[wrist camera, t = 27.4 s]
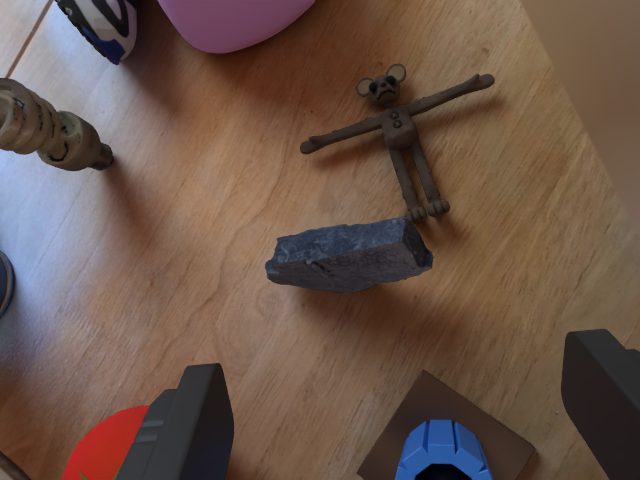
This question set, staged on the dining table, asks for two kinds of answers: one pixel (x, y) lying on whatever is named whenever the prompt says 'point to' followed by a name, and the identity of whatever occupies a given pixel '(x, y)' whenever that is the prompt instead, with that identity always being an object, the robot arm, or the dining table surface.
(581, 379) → the robot arm
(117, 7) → the athletic shoe
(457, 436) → the blue notched tube
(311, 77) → the dining table surface
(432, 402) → the peg stand
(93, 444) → the tomato
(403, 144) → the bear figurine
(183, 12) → the teapot
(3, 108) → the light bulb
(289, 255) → the stone
